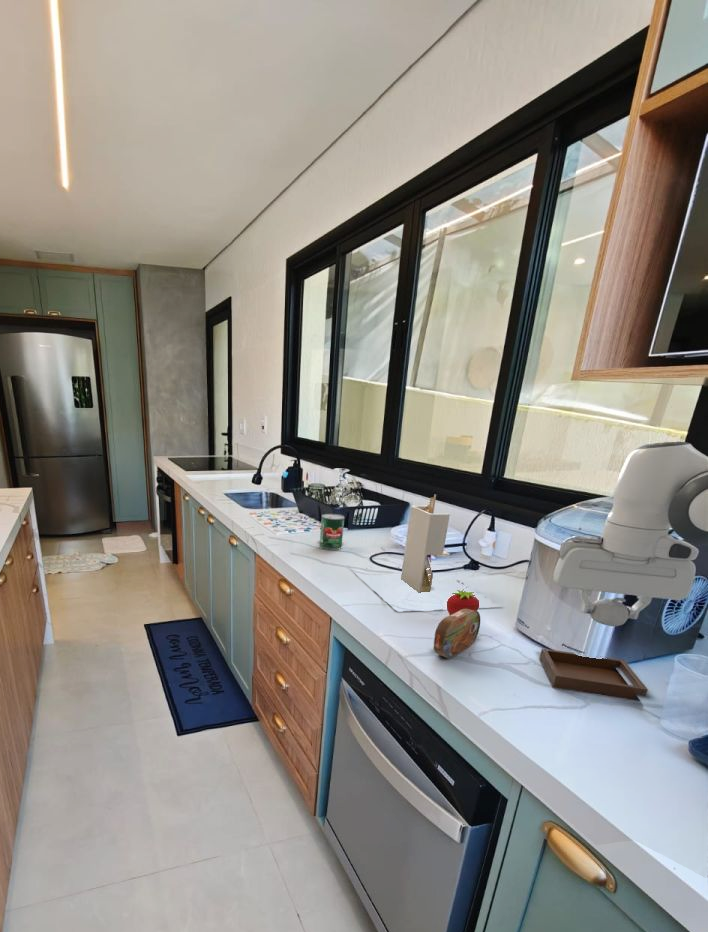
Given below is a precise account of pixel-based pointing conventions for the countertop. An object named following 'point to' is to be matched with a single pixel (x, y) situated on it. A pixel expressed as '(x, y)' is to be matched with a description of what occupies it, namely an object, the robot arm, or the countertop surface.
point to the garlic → (610, 612)
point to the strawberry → (462, 602)
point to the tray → (591, 675)
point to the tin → (456, 633)
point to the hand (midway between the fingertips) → (608, 615)
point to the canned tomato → (331, 531)
